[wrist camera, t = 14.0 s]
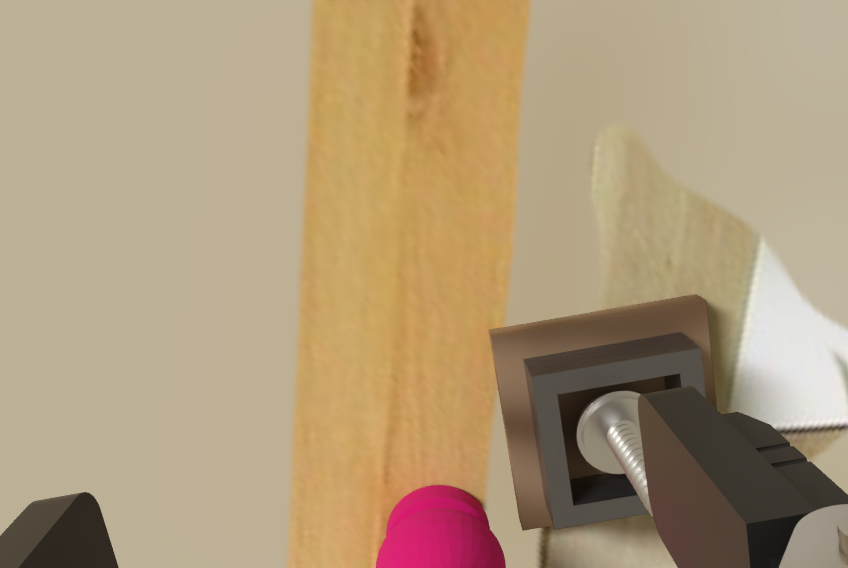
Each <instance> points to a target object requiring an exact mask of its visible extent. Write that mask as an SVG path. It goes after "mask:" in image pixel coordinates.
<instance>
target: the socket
mask: <svg viewBox="0 0 848 568" xmlns="http://www.w3.org/2000/svg"><path fill="white" fill-rule="evenodd" d="M523 361H524V368H525V374H526V381H527V387H528V394H529V400H530V407H531V414H532V420H533V427H534V433H535V440H536V446H537V453H538V459H539V466H540V472H541V479H542V486H543V492H544V499H545V504H546V506H547V509H548V512H549V515H550V518H551V521H552V524H553V526H554V529H560V528H566V527H572V526H577V525H583V524H589V523H595V522H601V521H607V520H613V519H619V518H625V517H631V516H637V515H643V514H649V511H648V510H647V509H646V507H645V506H644V504H643V502H642V501H641V499H640V497H639V496H638V494H637V492H636V490H635V489H634V487H633V485H632V484H631V482H630V481H629V479H628V477H627V476H626V474H625V473H624V474H611V473H603V474H597V475H591V476H585V477H579V478H574V479H569V472H568V465H567V458H566V451H565V444H564V437H563V431H562V424H561V417H560V410H559V403H558V396H557V394H563V393H569V392H575V391H581V390H586V389H592V388H598V387H604V386H610V385H616V384H622V383H627V382H633V381H639V380H645V379H651V378H657V377H663V376H664V379H665V388H666V390H669V389H675V388H681V387H686V386H693V387H694V388H696V390H697V391H698V392H699V393H700V394H701V395H702V396H703V397H704V398H705V399H706V396H705V386H704V376H703V365H702V355H701V348H700V347H699V346H698V345H697V344H695V343H694V342H693V341H692V340H690V339H689V338H688V337H687V336H685V335H684V334H683V333H682V332H678V333H672V334H666V335H660V336H654V337H649V338H643V339H637V340H631V341H625V342H619V343H614V344H608V345H602V346H596V347H590V348H585V349H579V350H573V351H567V352H561V353H555V354H550V355H544V356H538V357H532V358H526V359H523Z"/></svg>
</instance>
